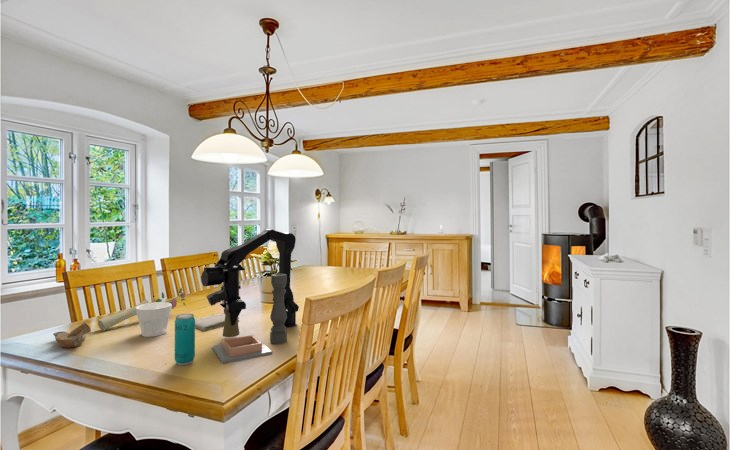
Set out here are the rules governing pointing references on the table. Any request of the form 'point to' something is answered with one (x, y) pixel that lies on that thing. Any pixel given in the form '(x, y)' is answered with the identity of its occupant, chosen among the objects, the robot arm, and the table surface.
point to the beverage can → (184, 339)
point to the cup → (153, 318)
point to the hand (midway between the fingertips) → (231, 323)
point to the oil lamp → (73, 336)
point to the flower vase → (131, 313)
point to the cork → (229, 326)
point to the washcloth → (210, 322)
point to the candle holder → (278, 309)
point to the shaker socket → (240, 348)
